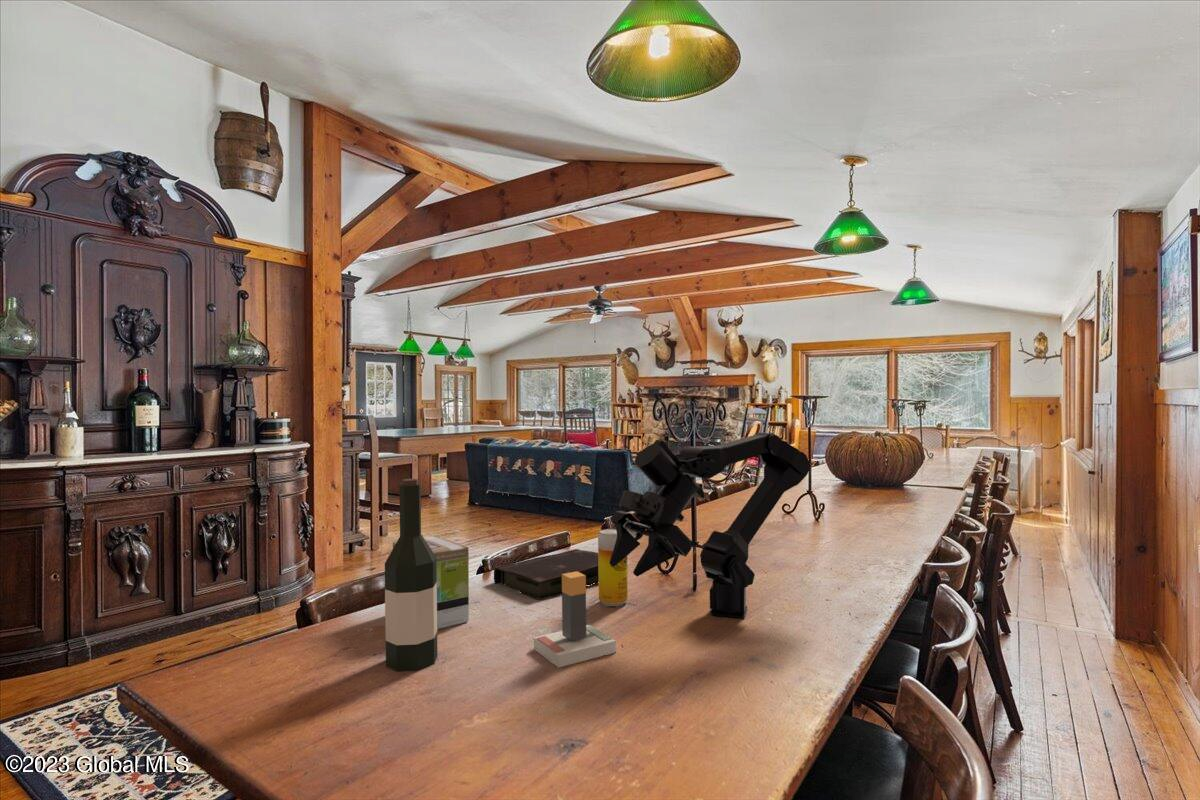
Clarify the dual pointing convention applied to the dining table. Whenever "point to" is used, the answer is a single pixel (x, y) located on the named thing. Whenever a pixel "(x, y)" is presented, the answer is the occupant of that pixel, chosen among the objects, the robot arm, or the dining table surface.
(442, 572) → the tea box
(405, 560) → the wine bottle
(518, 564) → the diary
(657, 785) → the dining table surface
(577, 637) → the lever
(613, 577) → the beer can
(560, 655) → the plate
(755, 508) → the robot arm
